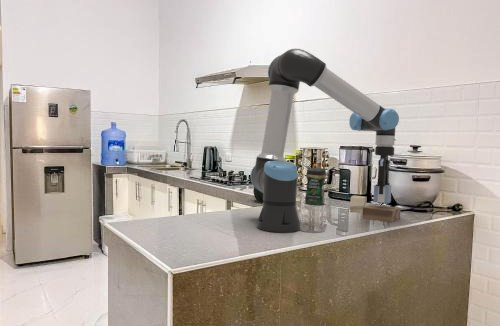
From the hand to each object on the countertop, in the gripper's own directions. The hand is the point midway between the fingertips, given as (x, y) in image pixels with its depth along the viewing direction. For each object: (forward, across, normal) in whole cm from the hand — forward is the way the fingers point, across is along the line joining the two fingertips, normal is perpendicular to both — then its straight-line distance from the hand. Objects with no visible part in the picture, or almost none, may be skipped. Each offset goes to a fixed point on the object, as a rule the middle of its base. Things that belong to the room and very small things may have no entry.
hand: (382, 201), depth 164 cm
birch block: (+7, +11, +12) cm, 18 cm away
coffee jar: (+8, +21, +36) cm, 42 cm away
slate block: (0, 0, 0) cm, 0 cm away
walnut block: (+8, 0, 0) cm, 8 cm away
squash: (+8, +11, +58) cm, 60 cm away
